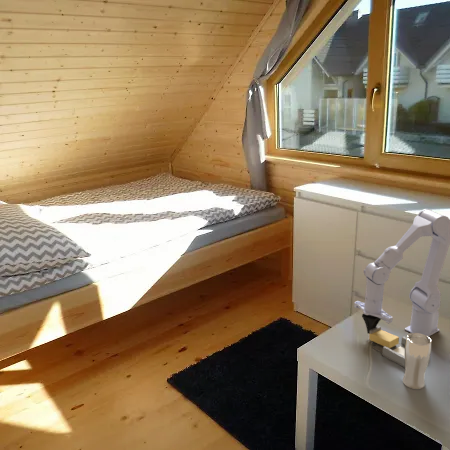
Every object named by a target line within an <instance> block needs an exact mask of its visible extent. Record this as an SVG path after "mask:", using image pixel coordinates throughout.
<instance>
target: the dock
mask: <svg viewBox="0 0 450 450" xmlns="http://www.w3.org/2000/svg"><path fill="white" fill-rule="evenodd" d="M406 340H407V336H405V335H403V336H402V337H401V342H399V344H397V345H395V346H393V347H391V348H388V347H386V346H382V345H380V344H378V343H376V345H373V346H372V347H371V349H374V350H375V351H377V352H378V353H381V354H382V356H383V357H384V358H386V359H388V360H389V361H392V362H394V363H395V364H398V365H399V366H401V367H402V368H404V369H405V354H404V353H405V344H406Z"/></svg>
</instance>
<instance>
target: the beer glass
mask: <svg viewBox="0 0 450 450" xmlns="http://www.w3.org/2000/svg"><path fill="white" fill-rule="evenodd" d="M406 338H407V340H406V344H405V353H404V354H405V368H404V370H405V371H404V375H403V378H402V383H403V384H404V385H405V386H406V387H407V388H409V389H412V390H422V389H424V387H425V385H426V382H425V381H426V380H425V374H426V371H427V368H428V366H429V363H430V360H431V359H430V358H431V352H432V339H431V338H430V336H429V337H428V336H426V335H424V334H420V333H411V332H410V333H409V334H407V336H406Z"/></svg>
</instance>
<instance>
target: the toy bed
mask: <svg viewBox="0 0 450 450" xmlns="http://www.w3.org/2000/svg"><path fill="white" fill-rule="evenodd" d="M381 327H382V326H381V325H380V326H379V325H377V326H376V328H374V329H372V330H370V331H369V334H368V335H369V336H368V337H369V341H371V343H372V344H375V343H376V344H380V345H382V346H386V347H388V348H391V347H393V346H395V345H397V344H399V343H400V337H399V336H397V335H395V334H393V333H390V332H387V331H385V330H382V328H381Z"/></svg>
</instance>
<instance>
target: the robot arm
mask: <svg viewBox="0 0 450 450" xmlns="http://www.w3.org/2000/svg"><path fill="white" fill-rule="evenodd" d="M422 237H431V238H432V239H431V243H430V246H429V250H428V254H427V257H426V259H425V260H426V261H425V264H424V268H423V269H422V275H421V278H420V280H419V281H416V282H414V285H413V287H412V288H411V290H410V292H409V294H408V297H409V299H410V301H411V305H412V308H411V318H410V322H409V323H410V325H408V326H406V327H405V328H404V330H405V331H407V332H409V333H410V334H411V333H420V334H424V335H426V336H428V337H429V338H430V336H432V335H434V334H436V333H437V332H440V328H438V325H439V318H440V317H439V316H440V312H439V309H440V308H441V307H440V306H441V304H442V303H441V296H442V294H441V291H440V289H439V287H438V284H439V280H440V277H441V275H442V271H443V267H444V264H445V261H446V258H447V255H448V251H449V247H450V218H449V217H448V216H446V215H443V214H441V213H438V212H437V211H433V210H432V209H430V208H424V209H422V210H420V211H419V212H418V214H417V215H416V216H415V217H414V218H413V222H412V224H411V225H410V227H409V228H408V229H407V231H406V232H405V233H404V234H403V235H402V237H401V238H400V239H399V240H398V241H397V243H396V244H395V245H392V246H388V247H387V248H385V249H383V252H382V253H381V254H380V255H379V256H378V258H377V259H376V260H374V262H370V263H368V264H367V265H366V267H365V268H364V269H363V274H364V276H365V279H366V280H365V282H366V284H365V296H364V302H362V301H359V300H356V301H354V302H353V308H355V309H359V310H361V311H363V313H362V314H361V317H362V319H363V321H364V324H365V328H366V332H367V334H368V335H369V331H370V330H372V329H374V328H376V327H378V324H379V323H380V321H381V320H382V321H385V323H386V324H391V323H393V316H392V315H390V314H389V313H387V312H386V311H385V310H384V309H383V301H384V290H385V283H386V282H387V281H389V279H390V274H391V273H392V270H393V269H394V268H395V267H396V266H397V265H398V264H399V263H400V262H401V261H402V260H403V259H404V253H405V252H406V250H408V249H410V247H412V245H414V244H415V243H416V242H418V240H419V239H420V238H422Z"/></svg>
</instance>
